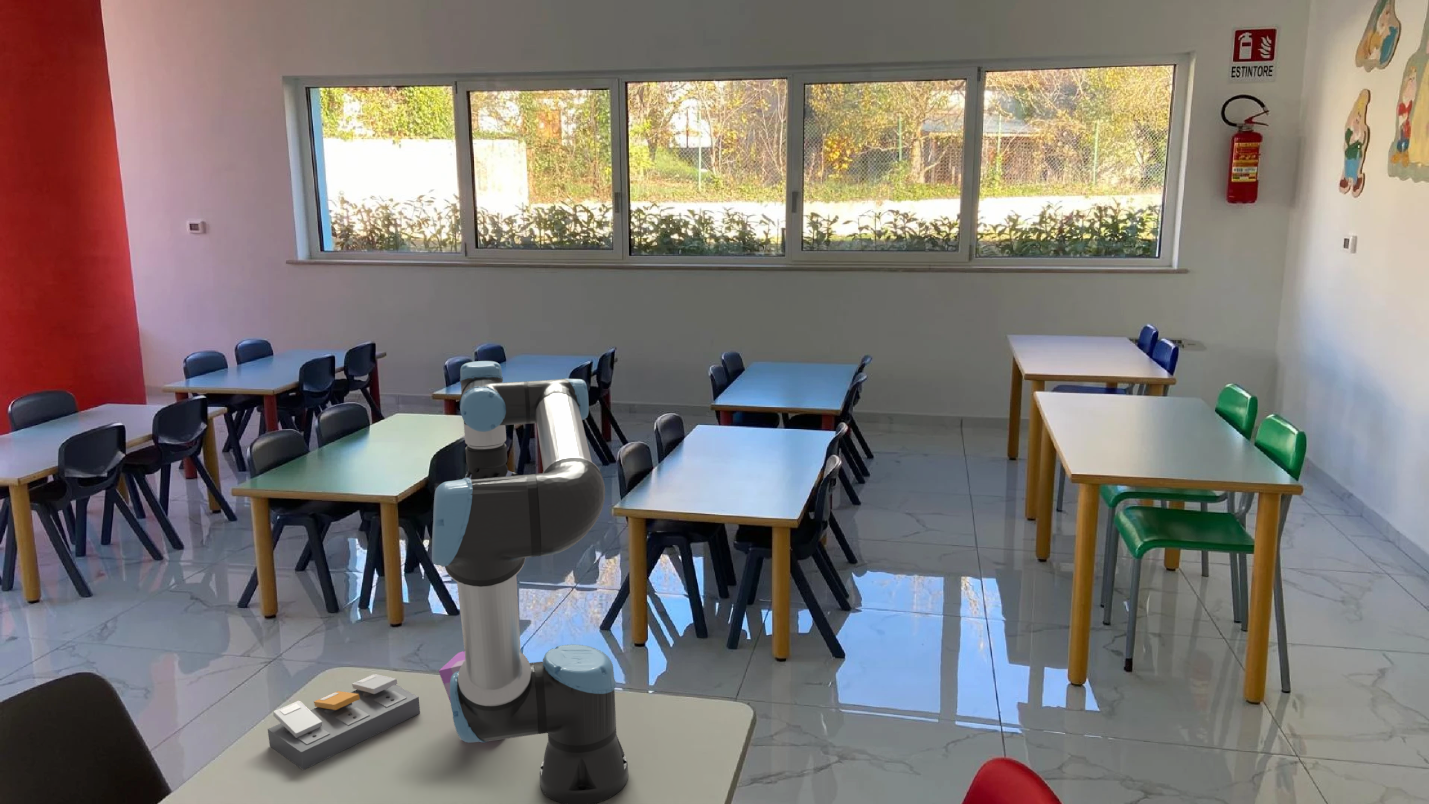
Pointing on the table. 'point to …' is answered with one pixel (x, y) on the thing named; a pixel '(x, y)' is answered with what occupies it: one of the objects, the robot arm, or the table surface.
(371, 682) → the rocker
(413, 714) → the power strip
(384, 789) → the table surface
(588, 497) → the robot arm
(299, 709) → the rocker
